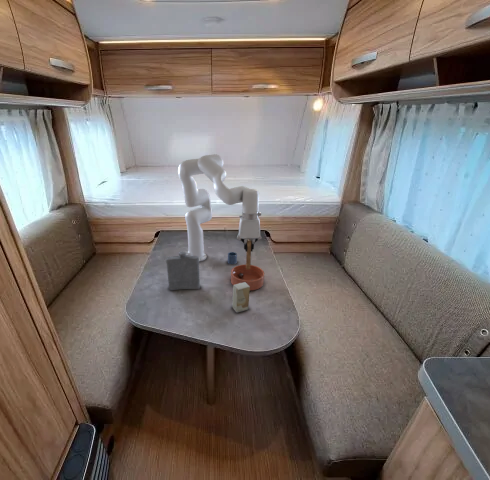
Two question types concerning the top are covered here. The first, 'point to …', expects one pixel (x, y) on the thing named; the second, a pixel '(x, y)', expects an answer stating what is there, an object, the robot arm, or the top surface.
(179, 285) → the hip flask
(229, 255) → the cup
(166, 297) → the top surface
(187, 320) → the top surface
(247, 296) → the cosmetic box
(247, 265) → the stick
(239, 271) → the bowl
